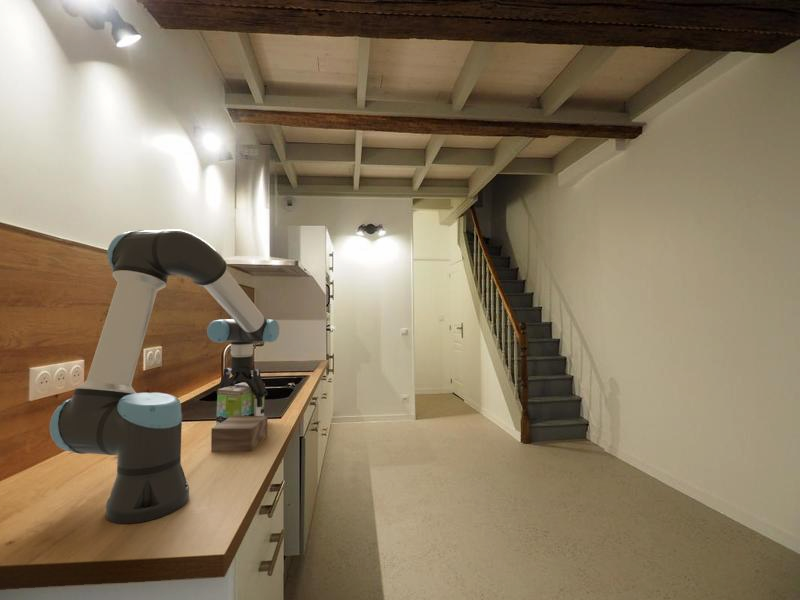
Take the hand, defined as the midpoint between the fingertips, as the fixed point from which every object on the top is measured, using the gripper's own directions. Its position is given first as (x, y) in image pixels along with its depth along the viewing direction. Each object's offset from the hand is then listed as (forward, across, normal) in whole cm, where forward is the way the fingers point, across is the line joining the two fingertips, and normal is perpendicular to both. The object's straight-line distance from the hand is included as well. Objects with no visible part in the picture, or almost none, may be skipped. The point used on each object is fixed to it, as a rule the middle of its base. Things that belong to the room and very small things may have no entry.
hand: (241, 414), depth 143 cm
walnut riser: (+4, -12, +15) cm, 20 cm away
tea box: (+4, 0, 0) cm, 4 cm away
